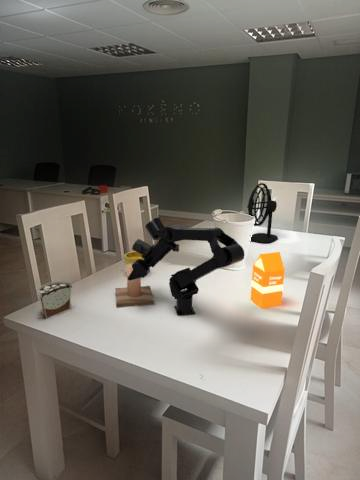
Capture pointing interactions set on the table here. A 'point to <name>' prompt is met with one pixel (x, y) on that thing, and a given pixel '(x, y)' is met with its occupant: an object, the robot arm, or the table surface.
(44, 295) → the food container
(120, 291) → the walnut board
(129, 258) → the plant pot
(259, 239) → the desk fan
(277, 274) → the orange juice
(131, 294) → the pillar candle
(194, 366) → the table surface
